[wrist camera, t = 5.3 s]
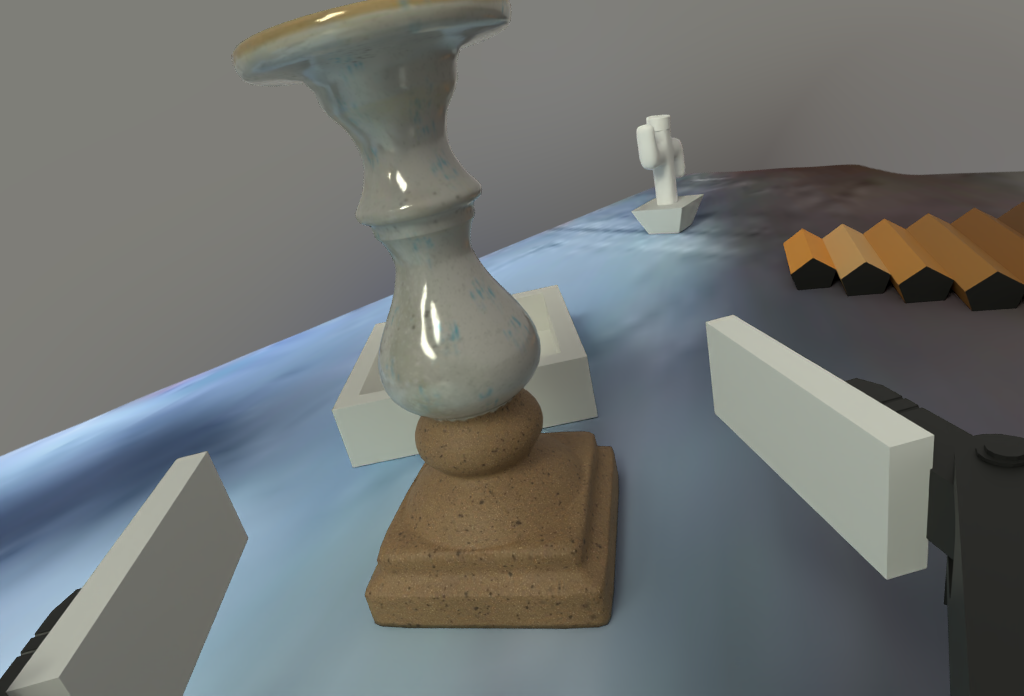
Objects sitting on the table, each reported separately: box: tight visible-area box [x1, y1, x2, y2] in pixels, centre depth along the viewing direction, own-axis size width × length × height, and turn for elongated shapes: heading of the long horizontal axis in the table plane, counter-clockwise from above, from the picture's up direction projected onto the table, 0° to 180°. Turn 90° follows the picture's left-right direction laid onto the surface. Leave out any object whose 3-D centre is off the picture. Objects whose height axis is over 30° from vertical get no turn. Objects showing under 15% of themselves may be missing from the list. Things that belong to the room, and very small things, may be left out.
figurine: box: [631, 115, 704, 234], centre depth 80 cm, size 7×9×15 cm
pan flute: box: [783, 202, 1024, 311], centre depth 46 cm, size 25×3×25 cm
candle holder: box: [231, 0, 619, 629], centre depth 26 cm, size 11×11×24 cm
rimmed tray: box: [332, 285, 598, 468], centre depth 48 cm, size 17×17×4 cm
